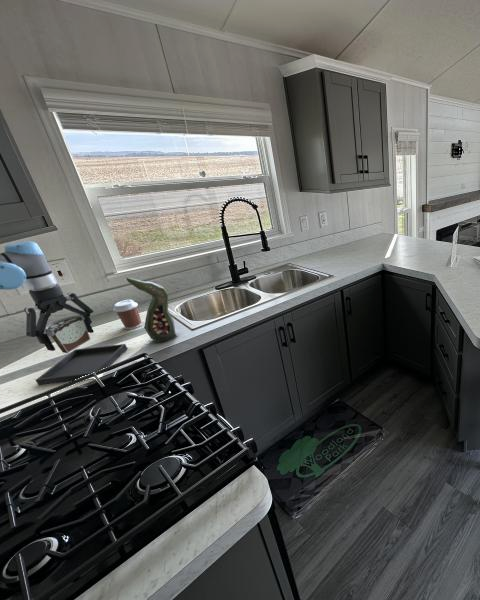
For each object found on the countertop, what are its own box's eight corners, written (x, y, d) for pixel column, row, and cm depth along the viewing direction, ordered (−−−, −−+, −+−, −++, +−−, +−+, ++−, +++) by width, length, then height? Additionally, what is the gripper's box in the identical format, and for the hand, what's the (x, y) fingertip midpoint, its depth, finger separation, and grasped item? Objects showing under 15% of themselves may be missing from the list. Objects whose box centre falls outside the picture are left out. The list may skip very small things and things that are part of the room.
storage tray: (96, 378, 119) (93, 373, 118) (38, 385, 116) (35, 380, 115) (127, 348, 136) (125, 343, 135) (77, 354, 134) (75, 349, 133)
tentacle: (147, 340, 142) (119, 276, 129) (178, 328, 151) (154, 267, 138) (155, 346, 137) (127, 280, 124) (186, 334, 146) (163, 271, 133)
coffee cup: (122, 332, 149) (111, 309, 144) (121, 325, 155) (110, 302, 150) (146, 325, 154) (136, 302, 149) (144, 319, 161) (134, 296, 156)
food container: (78, 337, 127) (66, 314, 123) (93, 337, 127) (82, 314, 123) (47, 355, 116) (33, 331, 112) (64, 355, 116) (50, 330, 112)
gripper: (75, 274, 124) (99, 324, 133) (-12, 300, 103) (24, 357, 112) (89, 275, 122) (112, 326, 131) (4, 302, 101) (39, 360, 110)
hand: (72, 340), depth 121 cm, fingers closed on food container, 12 cm apart
